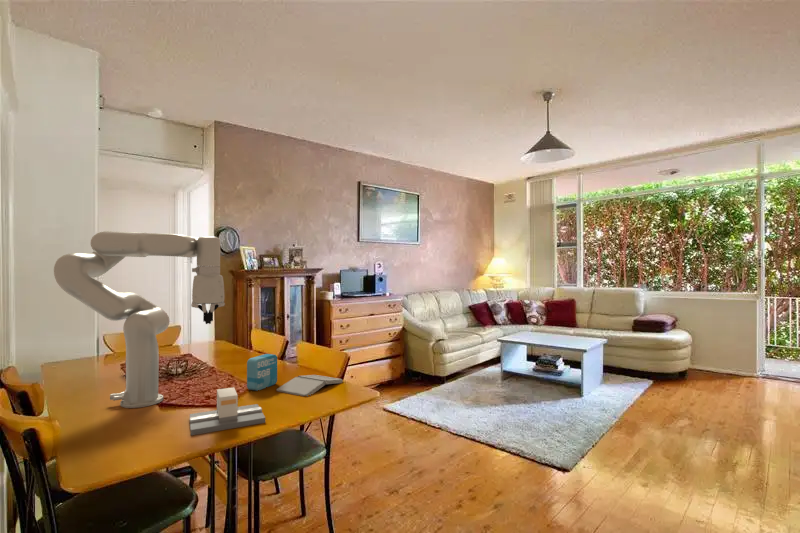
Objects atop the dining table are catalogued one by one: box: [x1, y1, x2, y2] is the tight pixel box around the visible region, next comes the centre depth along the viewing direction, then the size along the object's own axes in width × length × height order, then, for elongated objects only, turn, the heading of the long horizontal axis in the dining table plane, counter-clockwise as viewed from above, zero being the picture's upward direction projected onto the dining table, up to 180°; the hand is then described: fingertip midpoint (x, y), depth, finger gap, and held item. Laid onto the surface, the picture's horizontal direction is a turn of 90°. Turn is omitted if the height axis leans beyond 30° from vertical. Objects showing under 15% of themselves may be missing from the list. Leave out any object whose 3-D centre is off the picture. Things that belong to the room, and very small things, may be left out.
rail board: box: [189, 403, 266, 436], centre depth 124 cm, size 20×14×2 cm
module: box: [216, 386, 239, 422], centre depth 124 cm, size 5×9×7 cm, turn 29°
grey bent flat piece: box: [275, 374, 344, 397], centre depth 161 cm, size 23×15×4 cm, turn 152°
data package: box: [246, 353, 278, 392], centre depth 160 cm, size 12×4×12 cm, turn 156°
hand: (208, 323), depth 143 cm, fingers closed
